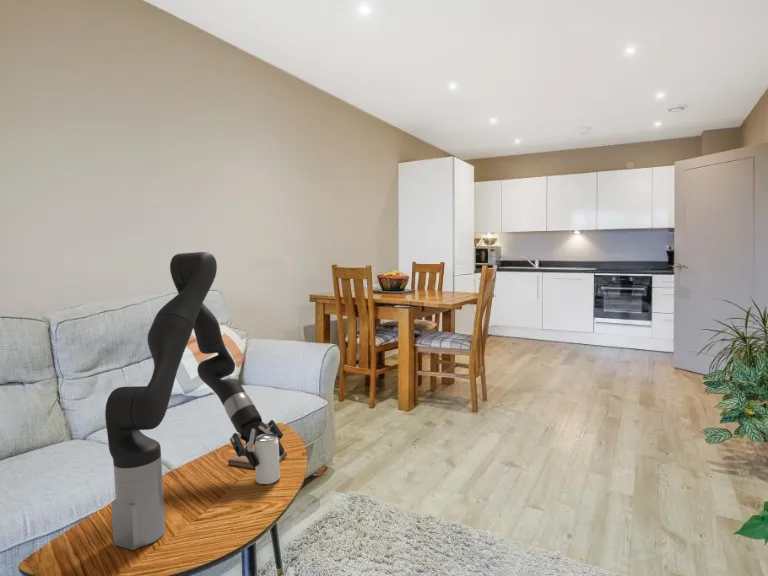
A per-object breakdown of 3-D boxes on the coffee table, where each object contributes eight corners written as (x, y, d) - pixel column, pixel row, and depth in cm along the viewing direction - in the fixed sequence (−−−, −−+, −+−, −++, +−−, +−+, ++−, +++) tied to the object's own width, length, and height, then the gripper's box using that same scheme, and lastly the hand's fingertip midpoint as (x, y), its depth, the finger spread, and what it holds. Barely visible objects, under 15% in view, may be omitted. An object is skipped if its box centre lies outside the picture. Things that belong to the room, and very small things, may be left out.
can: (270, 487, 124) (268, 442, 124) (250, 483, 127) (248, 439, 126) (284, 476, 130) (283, 434, 129) (266, 473, 133) (264, 431, 132)
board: (268, 470, 134) (268, 464, 134) (228, 464, 140) (228, 458, 140) (288, 457, 144) (287, 451, 144) (249, 451, 149) (249, 446, 149)
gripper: (225, 411, 127) (254, 461, 120) (267, 398, 138) (295, 444, 131) (215, 426, 130) (242, 477, 124) (257, 413, 141) (284, 458, 135)
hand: (269, 460), depth 128 cm, fingers open, 8 cm apart
